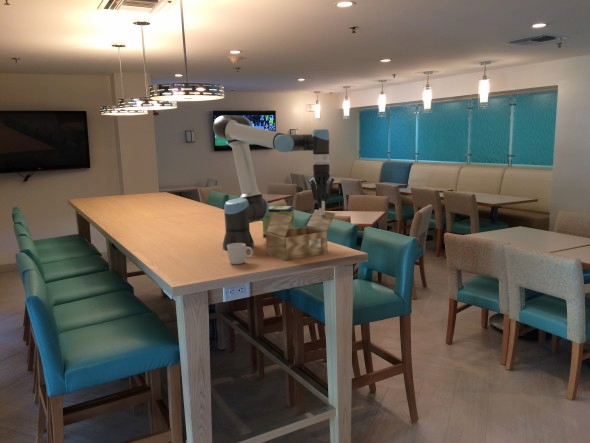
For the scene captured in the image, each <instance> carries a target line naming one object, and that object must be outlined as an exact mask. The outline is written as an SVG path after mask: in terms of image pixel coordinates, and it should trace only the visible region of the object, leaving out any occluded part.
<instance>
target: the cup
mask: <svg viewBox="0 0 590 443" xmlns="http://www.w3.org/2000/svg"><path fill="white" fill-rule="evenodd" d="M248 250H249V251H250V254H249V255H248V254H247V251H248ZM226 251H227V254H228V255H227V256H228V261H229V263H230V264H231V265H241V264H244V263H245V262H246V259H249V258H251V257H252V256H253V255H254V254H253V253H254V250H253V248H251V247H247V246H246V244H244V243H232V244H228V245H227V250H226Z"/></svg>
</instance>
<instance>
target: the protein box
mask: <svg viewBox="0 0 590 443" xmlns="http://www.w3.org/2000/svg"><path fill="white" fill-rule="evenodd" d="M294 208H295V206H294V205H293V206H292V205H291V206H290V205H289V206H288V205H287V206H284V205H283V206H275V205H274V206H271V205H270V206H269V212H268V214H267V216H266V217H265V218H264V219H262V237H263V238H266V232H268V231H267V229H268V227H269V224H270V221H271V218H272V215H273V213H276V214H281V215H285V216H289V217H292V220H291V223H290V225H289V228H288V229H292V228H295V209H294Z"/></svg>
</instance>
